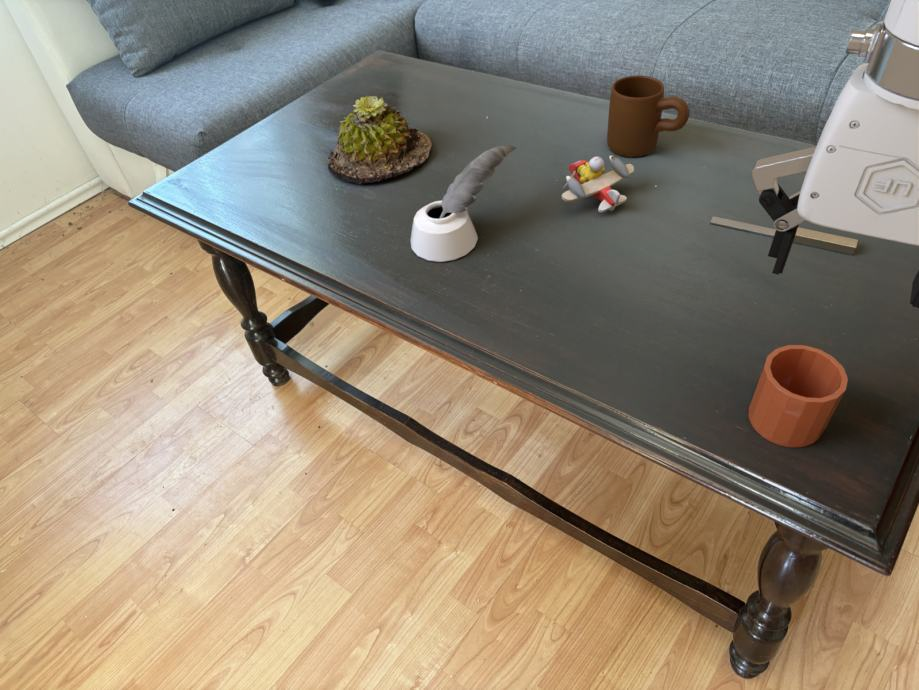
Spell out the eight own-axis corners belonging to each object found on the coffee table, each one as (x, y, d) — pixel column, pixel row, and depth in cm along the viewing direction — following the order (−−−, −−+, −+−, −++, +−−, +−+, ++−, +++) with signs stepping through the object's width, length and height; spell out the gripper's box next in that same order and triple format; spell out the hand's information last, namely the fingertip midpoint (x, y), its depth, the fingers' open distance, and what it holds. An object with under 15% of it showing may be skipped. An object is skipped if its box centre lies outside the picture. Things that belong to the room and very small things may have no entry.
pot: (828, 405, 65) (852, 358, 60) (816, 458, 61) (841, 412, 56) (756, 383, 67) (773, 336, 62) (740, 432, 64) (757, 386, 58)
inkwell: (396, 242, 89) (384, 179, 82) (493, 186, 97) (489, 123, 89) (440, 272, 84) (430, 207, 77) (538, 210, 91) (537, 146, 84)
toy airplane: (569, 180, 96) (570, 140, 91) (632, 184, 94) (637, 143, 89) (558, 216, 90) (559, 176, 85) (626, 222, 88) (630, 181, 83)
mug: (693, 149, 98) (704, 88, 92) (668, 172, 95) (678, 111, 88) (622, 128, 104) (628, 70, 98) (596, 150, 101) (600, 91, 94)
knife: (854, 247, 80) (858, 239, 79) (853, 255, 79) (856, 247, 78) (712, 217, 87) (714, 209, 86) (709, 224, 86) (711, 216, 85)
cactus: (362, 199, 97) (348, 140, 90) (310, 160, 107) (293, 104, 100) (453, 153, 104) (446, 94, 97) (396, 121, 113) (386, 65, 106)
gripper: (774, 68, 40) (719, 280, 52) (1137, 112, 33) (974, 344, 46) (797, 20, 44) (741, 227, 56) (1122, 51, 37) (977, 278, 50)
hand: (845, 279), depth 51 cm, fingers open, 9 cm apart
